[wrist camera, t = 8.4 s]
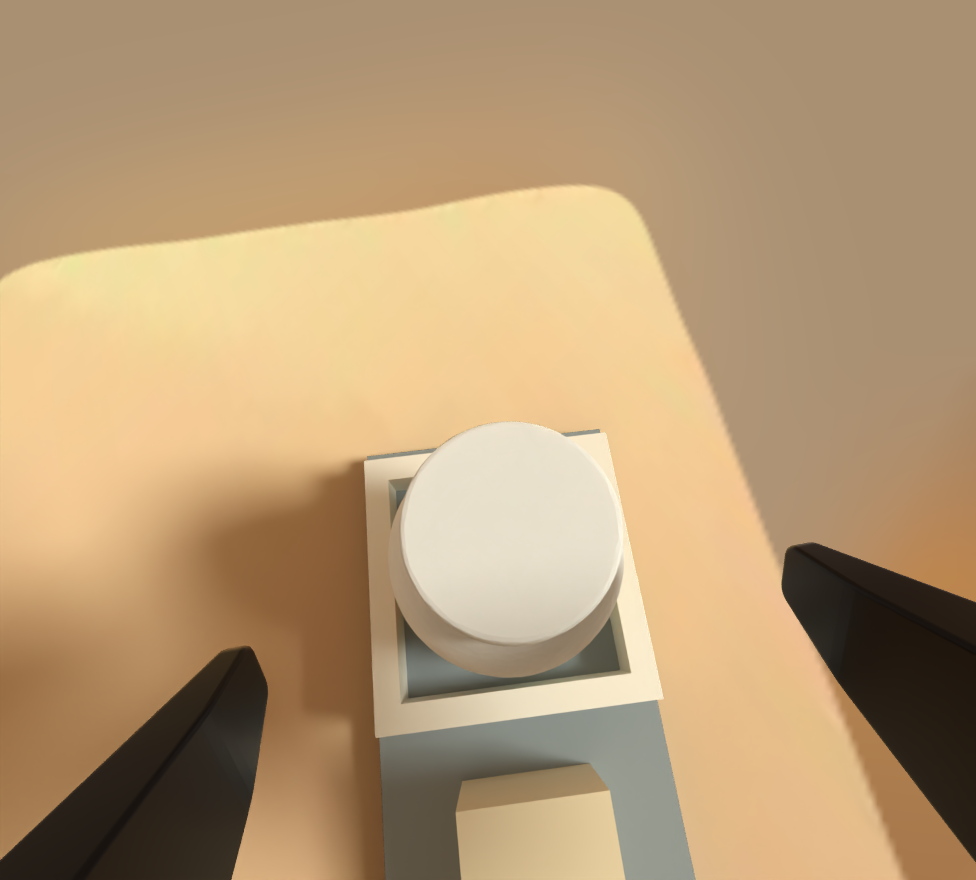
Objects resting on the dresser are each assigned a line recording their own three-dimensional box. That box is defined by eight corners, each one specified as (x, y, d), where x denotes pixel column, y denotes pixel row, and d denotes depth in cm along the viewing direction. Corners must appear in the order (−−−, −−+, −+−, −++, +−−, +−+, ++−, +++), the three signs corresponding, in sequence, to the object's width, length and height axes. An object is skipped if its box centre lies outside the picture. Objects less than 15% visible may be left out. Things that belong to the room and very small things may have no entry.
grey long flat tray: (759, 1230, 13) (863, 1462, 10) (411, 1291, 13) (377, 1554, 9) (594, 438, 21) (616, 395, 17) (373, 464, 21) (346, 427, 17)
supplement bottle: (478, 476, 19) (467, 337, 10) (605, 555, 18) (716, 477, 9) (393, 603, 18) (291, 570, 9) (527, 697, 17) (568, 770, 8)
